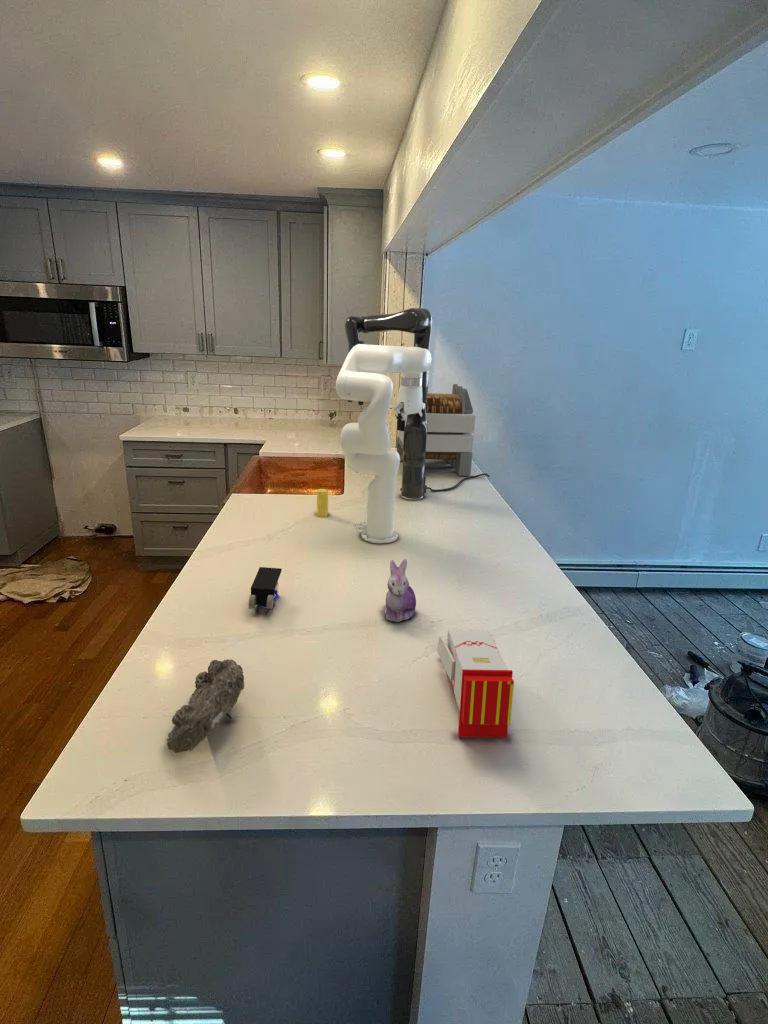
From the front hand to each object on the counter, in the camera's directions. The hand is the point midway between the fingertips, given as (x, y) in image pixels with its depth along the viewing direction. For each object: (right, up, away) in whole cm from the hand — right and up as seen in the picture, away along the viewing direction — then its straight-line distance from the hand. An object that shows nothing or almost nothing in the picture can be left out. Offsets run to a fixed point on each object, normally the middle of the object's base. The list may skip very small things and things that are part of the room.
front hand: (408, 428), depth 211 cm
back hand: (-22, +16, +37) cm, 46 cm away
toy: (+9, -69, -93) cm, 116 cm away
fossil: (-42, -70, -103) cm, 132 cm away
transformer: (+15, -8, +76) cm, 77 cm away
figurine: (-5, -58, -64) cm, 86 cm away
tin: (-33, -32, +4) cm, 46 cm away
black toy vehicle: (-40, -55, -62) cm, 92 cm away
